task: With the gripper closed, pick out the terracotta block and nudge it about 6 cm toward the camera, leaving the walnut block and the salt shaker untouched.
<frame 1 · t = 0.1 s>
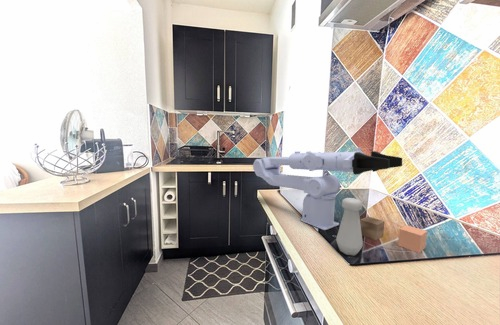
hand: (395, 162, 49), 22 cm above the cooktop, tool horizontal, fingers open, 7 cm apart
salt shaker: (348, 251, 51), on the cooktop
terracotta block: (411, 246, 53), on the cooktop
walnut block: (371, 235, 59), on the cooktop
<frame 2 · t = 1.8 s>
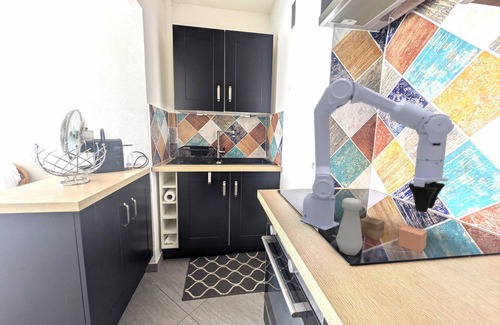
hand: (424, 209, 57), 8 cm above the cooktop, tool pointing down, fingers open, 5 cm apart
nothing on the cooktop moved.
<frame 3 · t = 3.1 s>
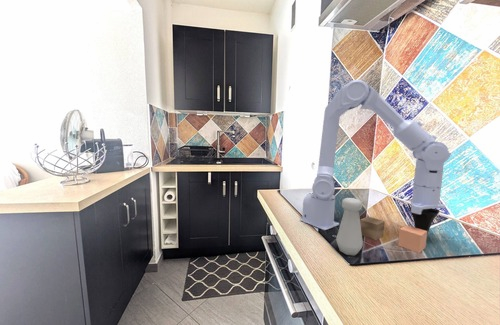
hand: (421, 233, 58), 1 cm above the cooktop, tool pointing down, fingers closed
nothing on the cooktop moved.
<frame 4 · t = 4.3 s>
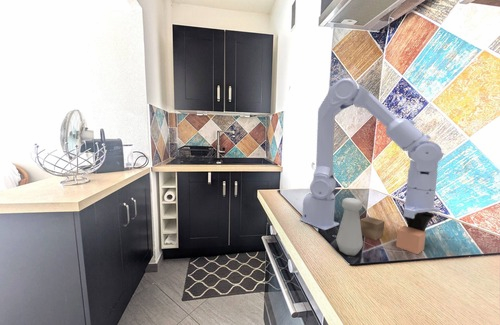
hand: (415, 238, 55), 1 cm above the cooktop, tool pointing down, fingers closed
terracotta block: (409, 247, 53), on the cooktop, touching gripper
everything else where it was.
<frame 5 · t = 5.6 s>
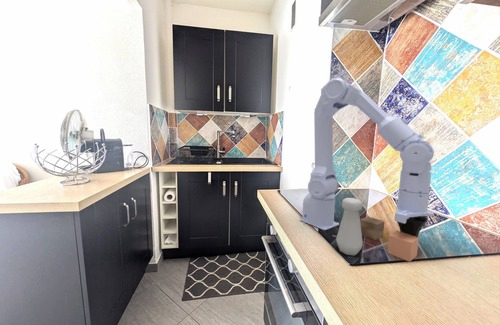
hand: (408, 244, 51), 1 cm above the cooktop, tool pointing down, fingers closed
terracotta block: (402, 254, 50), on the cooktop, touching gripper
everything else where it was.
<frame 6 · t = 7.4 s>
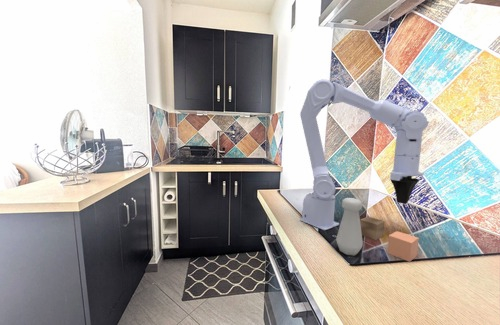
hand: (402, 202, 60), 9 cm above the cooktop, tool pointing down, fingers closed
terracotta block: (402, 254, 50), on the cooktop
everything else where it was.
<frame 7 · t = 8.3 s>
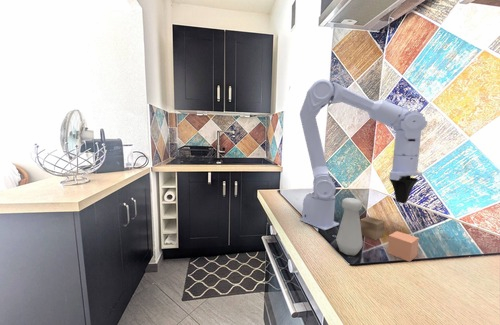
hand: (401, 202, 60), 9 cm above the cooktop, tool pointing down, fingers closed
nothing on the cooktop moved.
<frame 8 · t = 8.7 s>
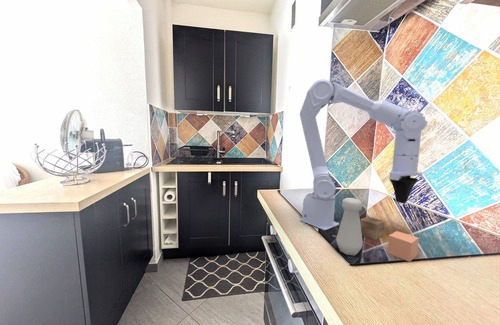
hand: (401, 202, 60), 9 cm above the cooktop, tool pointing down, fingers closed
nothing on the cooktop moved.
at the end: terracotta block inside the target area (0.1 cm from its centre), on the cooktop; walnut block moved 0.1 cm from its start; salt shaker moved 0.2 cm from its start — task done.
